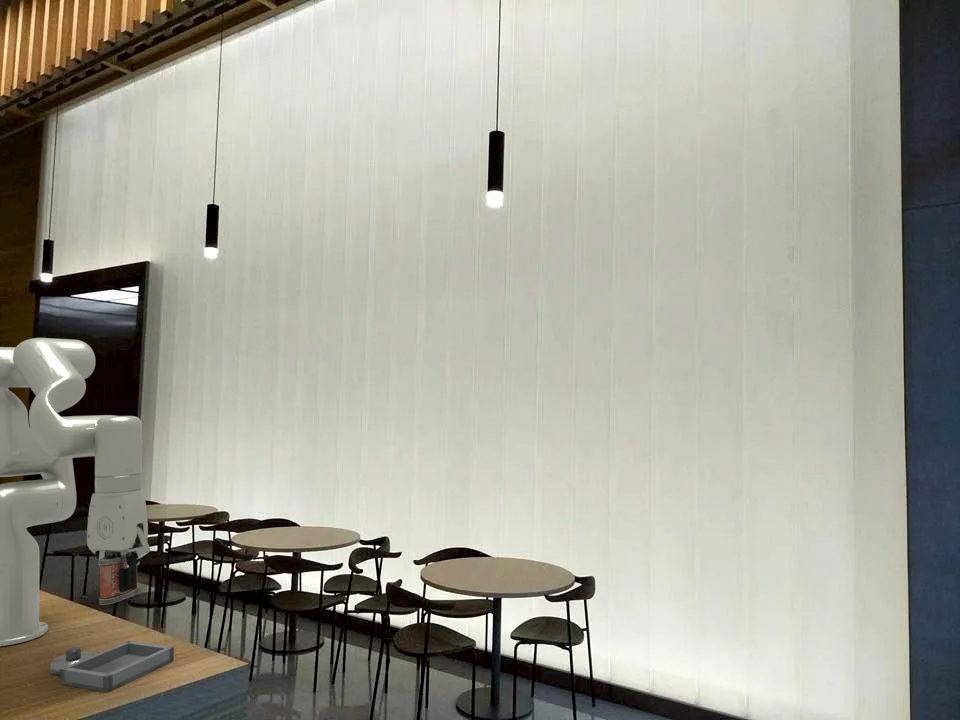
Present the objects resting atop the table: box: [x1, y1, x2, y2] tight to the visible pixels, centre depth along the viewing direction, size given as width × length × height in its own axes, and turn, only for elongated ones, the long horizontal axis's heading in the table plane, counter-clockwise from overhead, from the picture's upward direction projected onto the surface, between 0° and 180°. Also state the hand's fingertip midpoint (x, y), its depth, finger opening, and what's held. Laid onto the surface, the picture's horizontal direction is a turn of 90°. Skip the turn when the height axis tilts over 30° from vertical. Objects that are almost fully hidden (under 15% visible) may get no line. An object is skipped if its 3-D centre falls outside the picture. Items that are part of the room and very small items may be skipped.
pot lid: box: [49, 646, 96, 677], centre depth 124 cm, size 7×7×3 cm
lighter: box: [98, 550, 139, 606], centre depth 122 cm, size 8×3×10 cm, turn 168°
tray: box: [59, 640, 175, 693], centre depth 121 cm, size 11×14×2 cm
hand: (119, 587), depth 122 cm, fingers closed on lighter, 3 cm apart
